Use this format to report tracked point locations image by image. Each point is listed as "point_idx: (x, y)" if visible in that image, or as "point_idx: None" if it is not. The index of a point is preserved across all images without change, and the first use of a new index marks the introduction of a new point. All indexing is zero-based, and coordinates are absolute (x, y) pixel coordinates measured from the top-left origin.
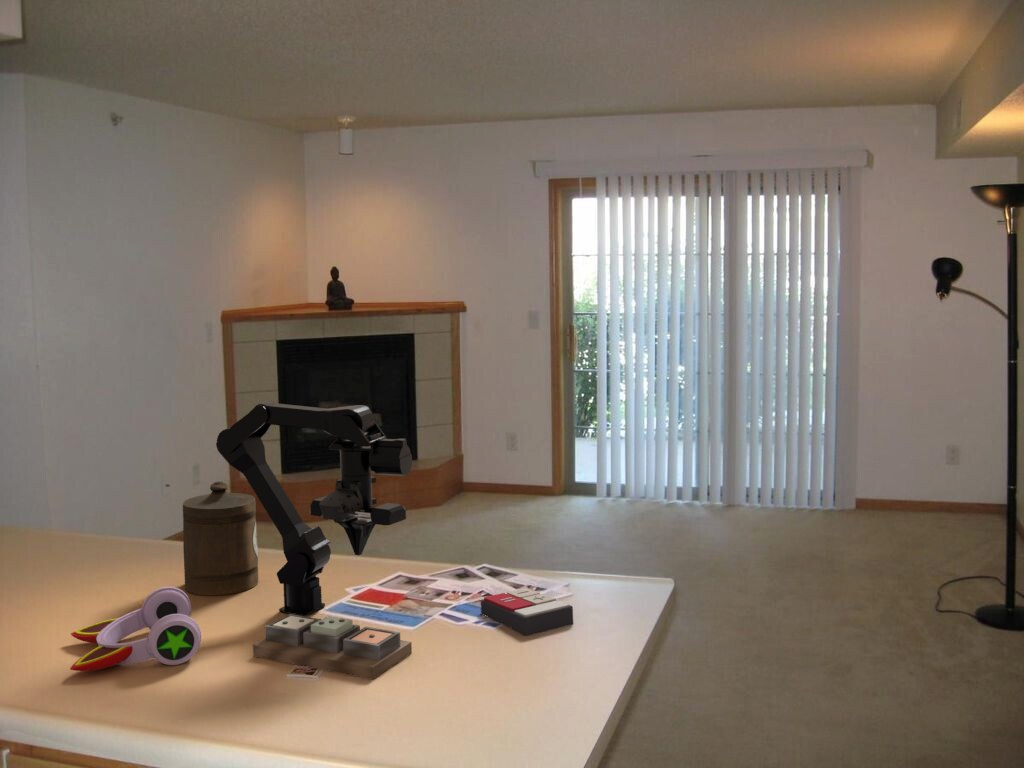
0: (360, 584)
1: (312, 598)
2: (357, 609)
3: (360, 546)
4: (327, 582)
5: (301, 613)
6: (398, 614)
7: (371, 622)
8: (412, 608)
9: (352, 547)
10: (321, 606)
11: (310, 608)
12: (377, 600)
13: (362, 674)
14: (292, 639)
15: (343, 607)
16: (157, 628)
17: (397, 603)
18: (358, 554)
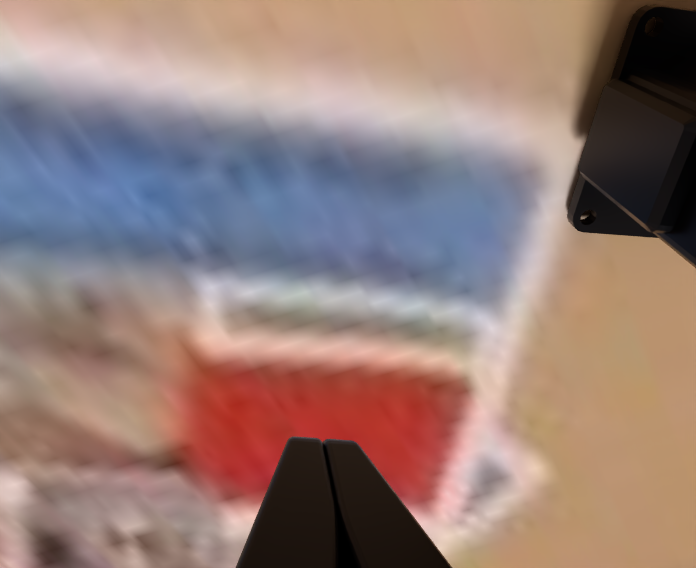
0: (497, 529)
1: (658, 100)
2: (352, 238)
3: (240, 565)
4: (660, 503)
5: (676, 8)
6: (51, 240)
7: (126, 41)
8: (41, 351)
9: (412, 522)
10: (581, 183)
11: (635, 78)
12: (311, 392)
13: None
14: None
15: (451, 242)
16: None
17: (177, 389)
18: (288, 443)
